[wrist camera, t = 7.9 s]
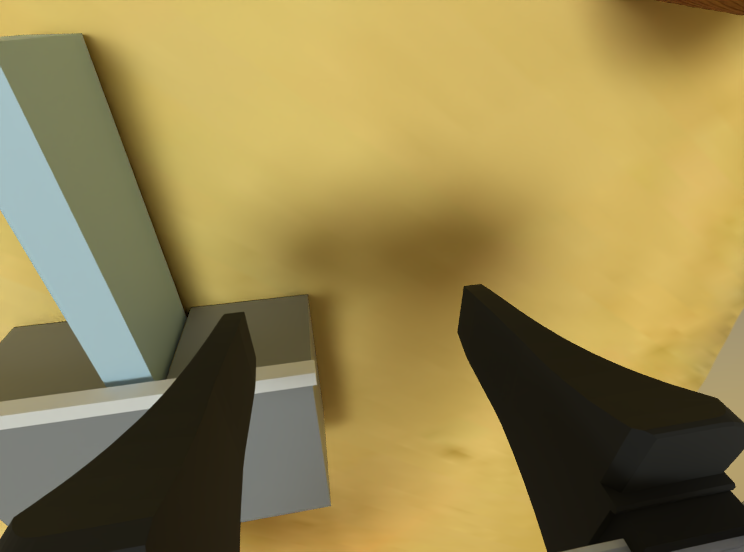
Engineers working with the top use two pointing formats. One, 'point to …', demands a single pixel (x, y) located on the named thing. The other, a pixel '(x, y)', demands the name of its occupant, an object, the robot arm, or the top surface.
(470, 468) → the top surface
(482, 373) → the robot arm
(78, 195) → the light blue rectangular block
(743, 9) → the disposable coffee cup
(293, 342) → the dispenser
